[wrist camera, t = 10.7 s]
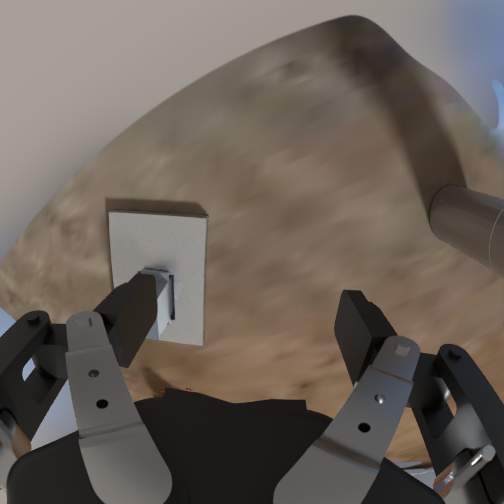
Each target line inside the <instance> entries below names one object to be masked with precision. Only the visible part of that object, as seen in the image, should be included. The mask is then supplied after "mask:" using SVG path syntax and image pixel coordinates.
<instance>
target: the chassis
mask: <svg viewBox="0 0 504 504" xmlns="http://www.w3.org/2000/svg"><path fill="white" fill-rule="evenodd" d="M208 218H209V216H207V215H194V214H180V213H166V212H150V211H133V210H112V211H110V212H109V231H110V248H111V261H112V272H113V281H114V289H115V288H116V287H117V286H119V285H121V284H123V283H125V282H126V283H128V282H129V281H130V279H131V278H132V277H133V276H134V275H135V274H136V273H141V270H142V269H147V270H155V271H164V272H169V274H170V275H173V308H174V310H173V312H172V314H171V324H170V325H166V327H165V329H164V331H163V334H162V336H161V338H160V340H163V341H170V342H177V343H184V344H191V345H199V346H203V344H204V340H205V288H206V259H207V237H208Z"/></svg>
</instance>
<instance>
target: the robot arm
mask: <svg viewBox="0 0 504 504" xmlns="http://www.w3.org/2000/svg"><path fill="white" fill-rule="evenodd" d="M430 224H431V228H432V231H433V233H434V234H435V236H436V237H438V238H439V239H440V240H442V241H444V242H446V243H447V244H449V245H451V246H452V247H454V248H456V249H457V250H459V251H461V252H463V253H464V254H466V255H468V256H469V257H471V258H473V259H474V260H476V261H477V262H479V263H481V264H482V265H484V266H485V267H487V268H489V269H490V270H492V271H493V272H495V273H496V274H498V275H500V276H501V277H503V278H504V199H501V198H498V197H494V196H491V195H488V194H484V193H481V192H477V191H473V190H470V189H466V188H462V187H458V186H454V185H449V186H445V187H444V188H442V189H441V190H440V191H439V192H438V193H437V194H436V196H435V197H434V199H433V202H432V205H431V208H430ZM157 314H158V303H157V292H156V280H155V276H154V275H152V274H143V273H136V274H135V275H134V276H133V277H132V278H131V279H130V281H129V282H128V283H126V282H125V283H123V284H121V285H119V286H117V287H116V288H115V289H114V290H113V291H112V292H111V294H109V295H108V296H107V297H106V299H104V300H103V301H102V302H101V303H100V304H99V305H98V306H97V307H96V308H95V309H94V310H93V311H82V312H78V313H75V314H73V315H72V316H70V317H69V318H68V320H67V322H66V324H51V321H50V318H49V315H48V313H46V312H45V311H32V312H29V313H26V314H25V315H23V316H22V317H21V318H20V319H19V320H18V321H17V322H16V323H14V325H12V326H11V327H10V328H9V329H8V330H7V331H6V332H5V333H4V334H3V335H2V336H1V337H0V489H2V490H4V491H5V492H6V493H7V504H504V404H503V403H502V401H501V400H500V398H499V397H498V395H497V394H496V392H495V391H494V389H493V388H492V386H491V385H490V383H489V382H488V380H487V379H486V377H485V376H484V375H483V373H482V372H481V370H480V369H479V368H478V366H477V365H476V363H475V362H474V361H473V359H472V358H471V357H470V355H469V354H468V353H467V352H466V351H465V350H464V349H463V348H461V347H459V346H457V345H454V344H444V345H442V346H441V347H440V349H439V351H438V353H437V355H433V354H426V353H421V352H420V347H419V346H418V344H417V343H416V342H414V341H413V340H411V339H409V338H407V337H404V336H398V335H397V333H396V332H395V330H394V329H393V327H392V326H391V324H390V323H389V321H388V320H387V318H386V317H385V316H384V314H383V312H382V311H381V310H380V308H379V307H377V306H376V305H375V304H373V303H372V302H368V300H367V299H366V297H365V296H364V294H363V293H362V292H361V291H360V290H343V292H342V294H341V298H340V303H339V307H338V311H337V315H336V320H335V326H334V332H335V336H336V339H337V342H338V345H339V347H340V350H341V353H342V356H343V358H344V361H345V364H346V367H347V370H348V373H349V375H350V378H351V381H352V384H353V387H355V389H354V390H353V392H352V393H351V395H350V396H349V398H348V399H347V401H346V402H345V404H344V405H343V407H342V408H341V409H340V411H339V412H338V414H337V415H336V416H335V418H334V419H332V418H330V417H328V416H326V415H324V414H321V413H318V412H315V411H311V410H307V408H306V401H305V400H282V399H269V400H262V401H254V402H246V403H230V402H227V401H223V400H220V399H217V398H214V397H210V396H207V395H204V394H201V393H197V392H190V391H183V390H177V389H171V388H166V390H165V393H164V396H163V397H155V398H148V399H143V400H140V401H136V402H133V400H132V398H131V395H130V393H129V391H128V388H127V386H126V383H125V381H124V378H123V376H122V373H121V370H120V368H119V366H121V367H126V368H128V367H129V366H130V364H131V362H132V360H133V359H134V357H135V355H136V353H137V352H138V350H139V348H140V346H141V345H142V343H143V341H144V340H145V338H146V336H147V334H148V333H149V331H150V329H151V328H152V326H153V324H154V323H155V321H156V318H157ZM30 358H32V360H33V362H34V365H35V368H34V370H33V371H32V372H31V374H30V375H29V376H28V378H27V379H26V380H25V382H24V380H23V376H22V371H23V368H24V366H25V364H26V363H27V362H28V361H29V360H30ZM67 379H69V385H70V392H71V397H72V402H73V408H74V412H75V417H76V422H77V426H78V430H77V431H75V432H73V433H71V434H69V435H67V436H65V437H62V438H60V439H58V440H56V441H53V442H51V443H49V444H46V445H44V446H42V447H39V448H37V449H35V450H32V451H31V443H30V442H31V441H32V438H33V436H34V435H35V433H36V431H37V429H38V428H39V426H40V424H41V422H42V421H43V419H44V417H45V415H46V414H47V412H48V410H49V409H50V406H51V405H52V404H53V402H54V400H55V399H56V397H57V395H58V394H59V392H60V390H61V389H62V387H63V385H64V384H65V382H66V381H67ZM451 395H452V397H453V399H454V400H455V402H456V405H457V411H456V415H455V417H454V416H453V414H452V412H451V410H450V408H449V406H448V404H447V400H448V399H449V397H450V396H451ZM405 407H409V408H412V411H413V413H414V416H415V418H416V421H417V423H418V426H419V429H420V431H421V434H422V437H423V439H424V442H425V445H426V448H427V451H428V453H429V456H430V459H431V462H432V465H433V468H434V471H435V474H436V479H435V481H434V484H433V489H431V488H430V487H428V486H427V485H425V484H424V483H422V482H420V481H419V480H417V479H416V478H414V477H413V476H411V475H410V474H408V473H407V472H405V471H404V470H403V469H401V468H400V467H398V466H397V465H395V464H394V463H392V462H391V461H390V460H388V459H387V458H385V457H384V456H385V453H386V451H387V449H388V447H389V445H390V443H391V441H392V438H393V436H394V434H395V431H396V429H397V427H398V424H399V422H400V419H401V417H402V414H403V412H404V409H405Z"/></svg>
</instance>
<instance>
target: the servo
mask: <svg viewBox="0 0 504 504" xmlns="http://www.w3.org/2000/svg"><path fill="white" fill-rule="evenodd" d="M141 273H143V274H152V275H154V276H155V280H156V292H157V303H158V314H157V318H156V321H155V323H154V324H153V326H152V328H151V329H150V331H149V333H148V334H147V336H146V338H147V339H152V340H158V341H159V340H160V338H161V336H162V334H163V331H164V329H165V327H166V325H170V324H171V314H172V312H173V310H174V308H173V275H170V274H169V272H164V271H155V270H147V269H142V270H141Z"/></svg>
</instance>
